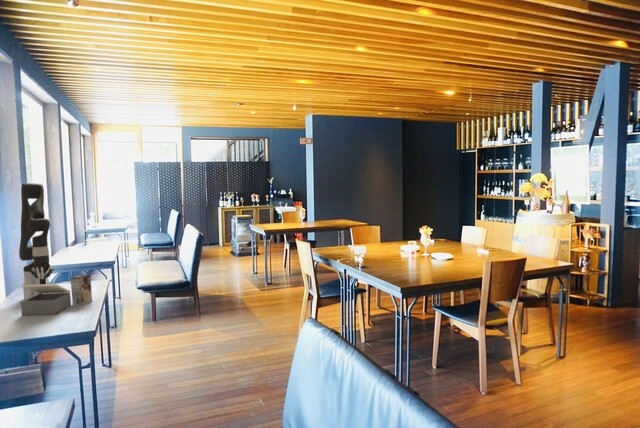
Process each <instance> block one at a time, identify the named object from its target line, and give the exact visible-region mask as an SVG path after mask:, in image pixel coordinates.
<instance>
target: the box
mask: <svg viewBox="0 0 640 428" xmlns="http://www.w3.org/2000/svg"><path fill="white" fill-rule="evenodd" d="M20 305H21V307H20V308H21V316H24V317H25V316H51V315H52V316H53V315H54V316H55V315H58V314H60V313H62V312H63V311H65V310H67V309H68V308H70V306H71V307H72V297H71V292H70V293H43V294H37V295H34V296H32V297H30V298H27V299H26V298H24V299H23V300H21V301H20Z"/></svg>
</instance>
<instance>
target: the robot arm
mask: <svg viewBox="0 0 640 428" xmlns="http://www.w3.org/2000/svg"><path fill="white" fill-rule="evenodd" d="M44 190H45V189H44V186H43V184H41V183H35V182H34V183H32V182H31V183H30V182H26V183H25V182H24V183H22V184H21V188H20V194H21V195H20V197H21V198H20V199H21V215H20V239H19V240H20V243H19V250H18V255H19V259H20V260H21V261H24V262H25V261H32V262H30V263H29V264H27V265H25V266H24V267H23V278H24V279H23V280H24V283H23V284H22V285H37V284H47V279H48V278H50V277H51V275H52V273H53V272H54V271H55V268H54V267H51V264H50V252H49V247H48V246H49V245H48V234H49V231H50V227H51V222H50V220H49V219H48V218H45V209H44V202H45V191H44ZM35 199H36V200H35ZM29 200H34V201H33V202H32V203H31V204H30V203H29ZM37 232H39V233H40V232H42V233H41V234H39V235H35V234H36V233H37ZM34 235H35V236H34ZM30 240H32V241H31V243H32V244H31V245H28V244H29V242H30ZM22 289H23V299H27V298H30V297H32V296H34V295H37V294H43V293H36V292H34V291H31V290H29V289H26V288H24V287H22Z"/></svg>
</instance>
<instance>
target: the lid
mask: <svg viewBox="0 0 640 428" xmlns="http://www.w3.org/2000/svg"><path fill="white" fill-rule="evenodd" d="M21 287H22V288H23V287H24V288H26V289H29V290H31V291H34V292H36V293H70V294H71V289H70V290H69V289H67V288H66V287H64V286H61V285H59V284H57V283H46V284H37V285H23V284H22V286H21Z"/></svg>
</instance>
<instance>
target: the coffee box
mask: <svg viewBox="0 0 640 428" xmlns="http://www.w3.org/2000/svg"><path fill="white" fill-rule="evenodd" d="M70 288H71V289H70V291H71V304H72V305H74V306H75V305H76V306H82V305H85V304H87V303H89V302H92V301H93V294H92V292H93V291H92V281H91V274H80V275H77V276H74V277H70Z"/></svg>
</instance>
